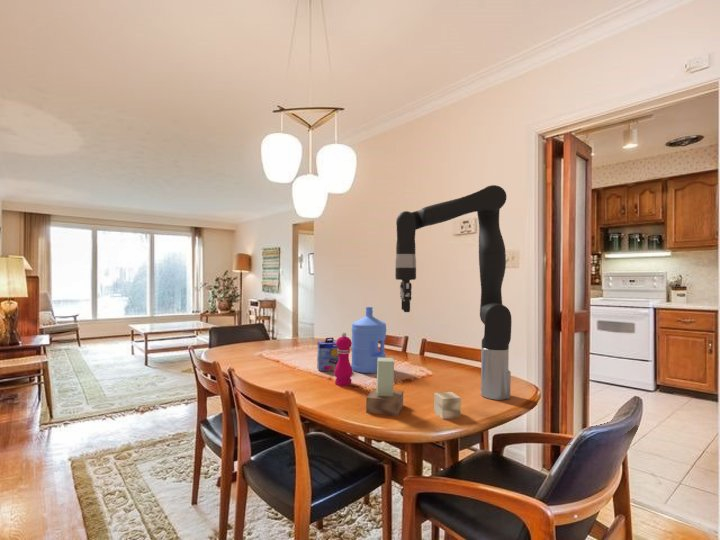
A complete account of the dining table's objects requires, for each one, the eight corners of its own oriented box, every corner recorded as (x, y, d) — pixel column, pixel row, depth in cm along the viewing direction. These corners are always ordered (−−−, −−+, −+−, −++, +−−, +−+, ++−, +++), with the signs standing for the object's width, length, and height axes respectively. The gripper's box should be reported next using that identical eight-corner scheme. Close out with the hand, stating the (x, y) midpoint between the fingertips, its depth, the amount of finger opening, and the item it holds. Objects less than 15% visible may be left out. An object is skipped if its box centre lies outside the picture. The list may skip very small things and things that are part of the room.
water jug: (346, 371, 168) (347, 308, 168) (357, 364, 183) (358, 305, 183) (380, 375, 163) (381, 309, 163) (389, 367, 178) (390, 306, 178)
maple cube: (451, 410, 122) (451, 391, 122) (460, 417, 116) (460, 397, 116) (433, 412, 121) (434, 393, 121) (442, 419, 115) (442, 399, 115)
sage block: (391, 391, 126) (392, 357, 126) (393, 396, 121) (394, 361, 121) (376, 390, 126) (377, 357, 126) (377, 396, 121) (378, 361, 121)
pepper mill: (336, 386, 146) (336, 334, 146) (332, 381, 153) (333, 331, 153) (354, 385, 148) (355, 333, 148) (350, 380, 155) (350, 331, 155)
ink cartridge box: (318, 371, 168) (319, 338, 168) (316, 368, 173) (316, 336, 174) (340, 370, 171) (341, 337, 171) (337, 367, 176) (338, 335, 177)
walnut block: (403, 406, 126) (403, 391, 126) (397, 417, 117) (398, 400, 117) (373, 403, 129) (373, 388, 129) (366, 413, 119) (366, 397, 119)
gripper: (418, 266, 133) (418, 313, 133) (413, 267, 147) (413, 309, 147) (397, 266, 133) (396, 312, 133) (394, 267, 148) (394, 309, 147)
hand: (405, 311), depth 140 cm, fingers open, 8 cm apart
